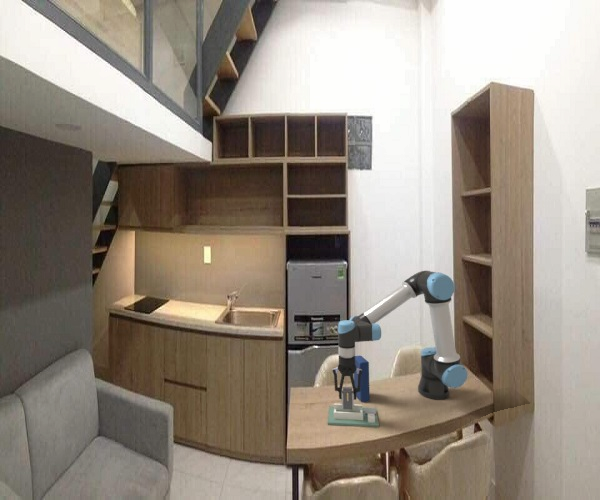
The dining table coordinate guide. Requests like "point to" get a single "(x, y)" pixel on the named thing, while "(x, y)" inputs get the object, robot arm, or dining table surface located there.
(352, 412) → the header board
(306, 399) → the dining table surface
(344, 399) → the grey upright block
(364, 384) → the tall blue block
